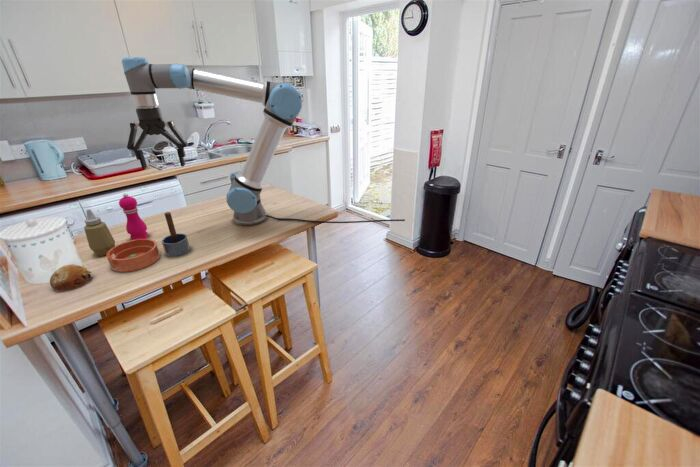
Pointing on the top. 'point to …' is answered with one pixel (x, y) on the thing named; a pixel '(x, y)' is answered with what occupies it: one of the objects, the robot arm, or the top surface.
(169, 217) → the stick
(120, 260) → the bowl
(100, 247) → the squeeze bottle
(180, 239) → the utensil pot
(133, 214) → the pepper mill
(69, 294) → the top surface
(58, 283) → the bread roll
